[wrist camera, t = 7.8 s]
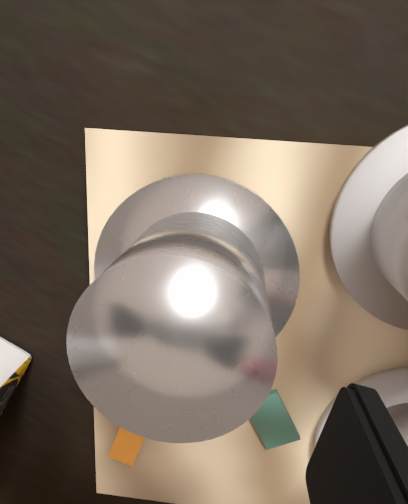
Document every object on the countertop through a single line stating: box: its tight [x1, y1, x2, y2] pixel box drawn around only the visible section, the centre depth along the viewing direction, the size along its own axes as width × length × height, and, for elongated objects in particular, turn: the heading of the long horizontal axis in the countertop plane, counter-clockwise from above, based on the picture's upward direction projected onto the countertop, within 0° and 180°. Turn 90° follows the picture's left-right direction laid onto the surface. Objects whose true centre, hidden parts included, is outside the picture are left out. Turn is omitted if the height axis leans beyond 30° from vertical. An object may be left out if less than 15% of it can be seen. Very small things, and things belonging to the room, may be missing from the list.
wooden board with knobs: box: [85, 125, 408, 504], centre depth 15 cm, size 20×22×9 cm
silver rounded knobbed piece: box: [66, 173, 300, 466], centre depth 14 cm, size 14×9×7 cm, turn 158°
